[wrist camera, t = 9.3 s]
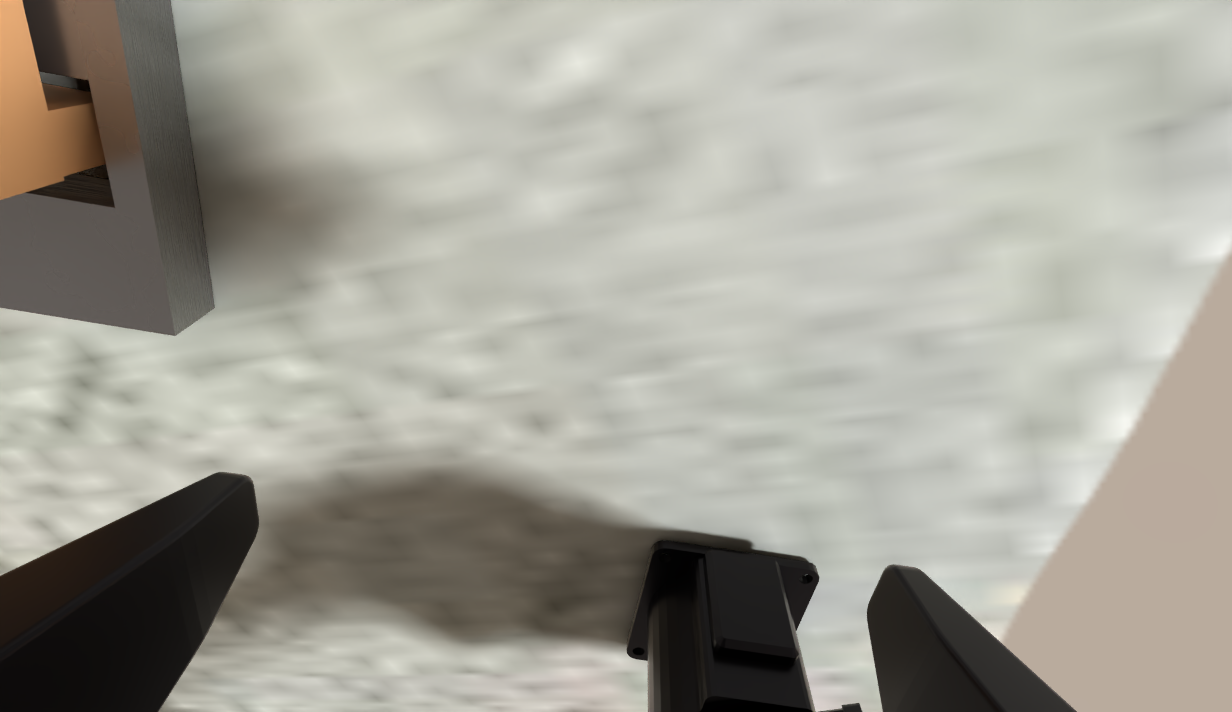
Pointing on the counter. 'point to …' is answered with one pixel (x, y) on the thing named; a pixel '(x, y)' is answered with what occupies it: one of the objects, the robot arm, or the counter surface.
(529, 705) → the counter surface
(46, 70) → the rail
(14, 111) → the clip
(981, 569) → the counter surface
